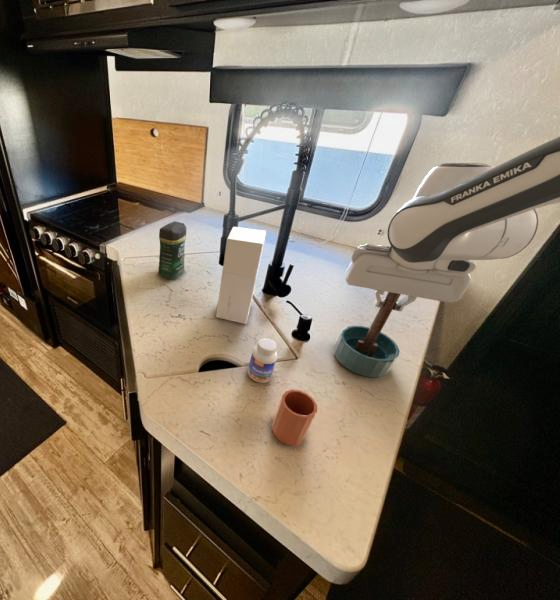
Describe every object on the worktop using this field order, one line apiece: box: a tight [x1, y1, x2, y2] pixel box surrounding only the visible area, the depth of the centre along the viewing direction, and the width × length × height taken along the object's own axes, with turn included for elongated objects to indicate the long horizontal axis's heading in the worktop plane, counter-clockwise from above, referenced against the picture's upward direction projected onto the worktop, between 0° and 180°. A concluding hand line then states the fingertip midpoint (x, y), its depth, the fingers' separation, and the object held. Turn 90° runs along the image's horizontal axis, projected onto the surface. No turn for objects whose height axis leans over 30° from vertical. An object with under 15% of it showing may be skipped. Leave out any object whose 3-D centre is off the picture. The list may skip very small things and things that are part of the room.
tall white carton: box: [216, 226, 267, 325], centre depth 86 cm, size 9×9×25 cm
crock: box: [271, 389, 318, 447], centre depth 59 cm, size 6×6×9 cm
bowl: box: [333, 325, 400, 378], centre depth 76 cm, size 12×12×6 cm
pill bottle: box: [247, 337, 278, 384], centre depth 71 cm, size 5×5×10 cm
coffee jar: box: [158, 220, 187, 280], centre depth 107 cm, size 10×8×19 cm
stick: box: [354, 292, 402, 357], centre depth 72 cm, size 4×2×20 cm, turn 69°
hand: (386, 307), depth 68 cm, fingers closed on stick, 2 cm apart
